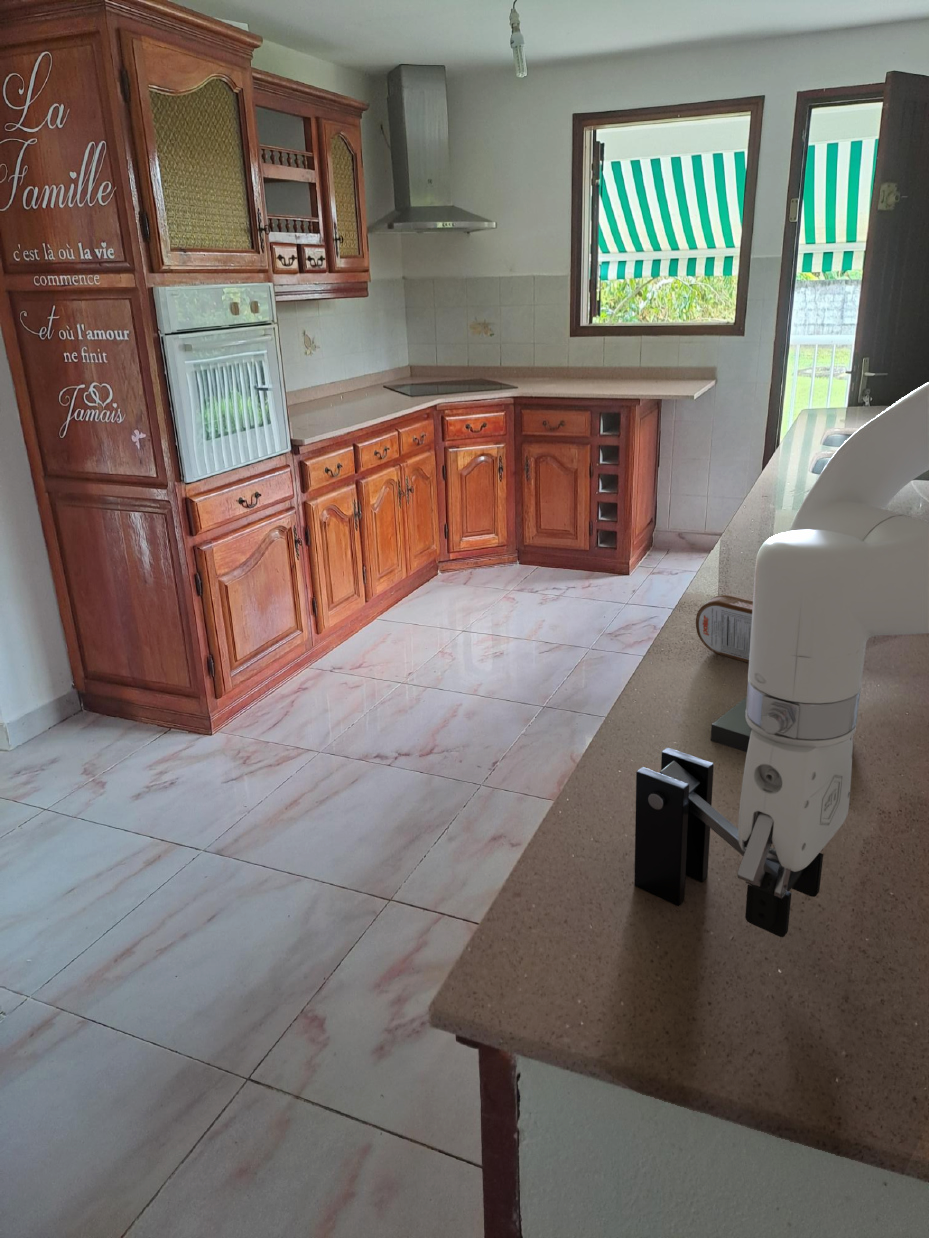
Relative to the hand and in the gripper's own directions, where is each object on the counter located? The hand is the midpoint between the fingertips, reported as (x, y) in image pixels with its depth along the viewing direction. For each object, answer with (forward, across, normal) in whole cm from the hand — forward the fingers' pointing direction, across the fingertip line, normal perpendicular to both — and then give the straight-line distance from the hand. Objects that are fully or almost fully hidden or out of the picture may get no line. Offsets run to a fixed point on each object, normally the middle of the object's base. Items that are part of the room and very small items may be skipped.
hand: (782, 905), depth 70 cm
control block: (+4, +31, +14) cm, 34 cm away
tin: (+4, +49, +27) cm, 56 cm away
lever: (-4, 0, +6) cm, 7 cm away
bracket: (+4, 0, +10) cm, 11 cm away
